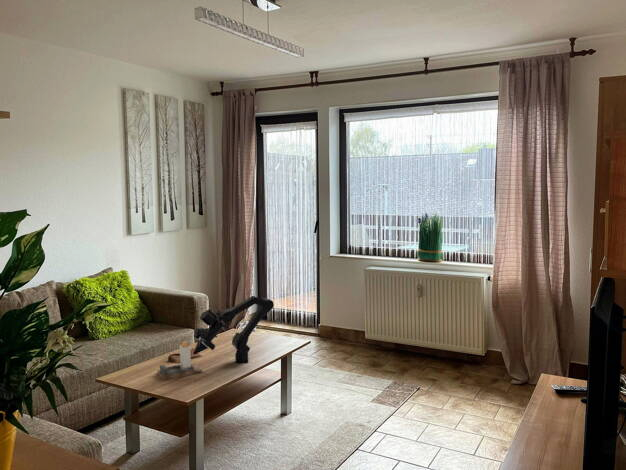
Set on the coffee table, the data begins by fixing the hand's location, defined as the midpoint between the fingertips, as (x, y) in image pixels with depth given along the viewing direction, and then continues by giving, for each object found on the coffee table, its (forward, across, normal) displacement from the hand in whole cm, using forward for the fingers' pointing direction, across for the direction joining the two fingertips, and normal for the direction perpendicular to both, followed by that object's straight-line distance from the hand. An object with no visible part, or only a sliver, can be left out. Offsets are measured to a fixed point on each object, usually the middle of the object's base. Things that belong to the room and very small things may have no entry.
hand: (193, 353), depth 283 cm
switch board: (+12, 0, +1) cm, 12 cm away
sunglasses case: (+5, -22, +8) cm, 24 cm away
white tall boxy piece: (+8, 0, +2) cm, 8 cm away
